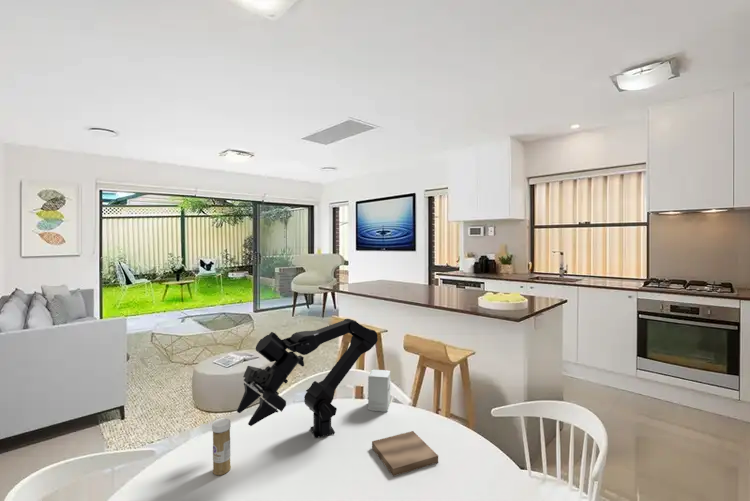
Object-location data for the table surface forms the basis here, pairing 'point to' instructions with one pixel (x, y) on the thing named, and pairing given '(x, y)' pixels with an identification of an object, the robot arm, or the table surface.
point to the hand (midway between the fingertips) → (243, 418)
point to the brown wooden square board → (404, 453)
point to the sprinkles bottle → (221, 446)
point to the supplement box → (379, 390)
